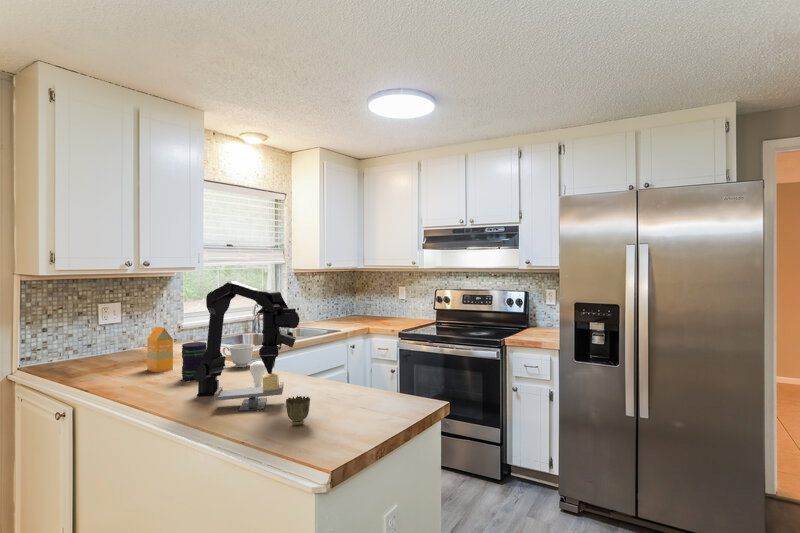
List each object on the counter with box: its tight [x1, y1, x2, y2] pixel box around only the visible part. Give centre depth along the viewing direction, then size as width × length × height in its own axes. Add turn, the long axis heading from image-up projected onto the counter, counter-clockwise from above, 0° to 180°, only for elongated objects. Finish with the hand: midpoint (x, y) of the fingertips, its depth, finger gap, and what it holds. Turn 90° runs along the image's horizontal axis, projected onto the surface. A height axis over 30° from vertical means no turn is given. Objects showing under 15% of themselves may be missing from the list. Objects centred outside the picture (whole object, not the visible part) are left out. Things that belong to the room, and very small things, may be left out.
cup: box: [285, 395, 311, 427], centre depth 137 cm, size 8×7×8 cm
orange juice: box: [146, 326, 174, 373], centre depth 207 cm, size 8×9×20 cm
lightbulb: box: [249, 360, 267, 388], centre depth 176 cm, size 6×6×11 cm
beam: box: [214, 381, 284, 401], centre depth 155 cm, size 22×8×2 cm, turn 101°
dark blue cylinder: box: [181, 341, 207, 382], centre depth 192 cm, size 10×10×15 cm
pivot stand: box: [238, 397, 268, 413], centre depth 155 cm, size 8×12×4 cm, turn 11°
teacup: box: [222, 343, 255, 368], centre depth 214 cm, size 12×15×10 cm
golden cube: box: [262, 372, 280, 392], centre depth 156 cm, size 5×5×5 cm
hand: (271, 370), depth 156 cm, fingers open, 9 cm apart
